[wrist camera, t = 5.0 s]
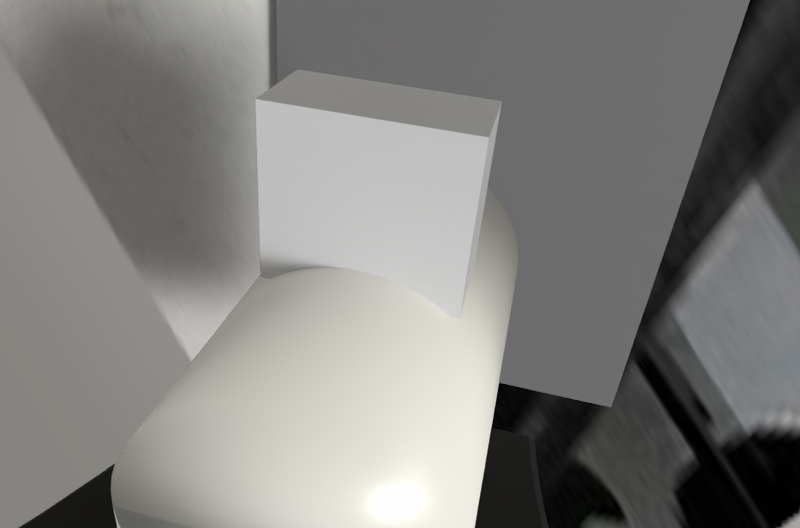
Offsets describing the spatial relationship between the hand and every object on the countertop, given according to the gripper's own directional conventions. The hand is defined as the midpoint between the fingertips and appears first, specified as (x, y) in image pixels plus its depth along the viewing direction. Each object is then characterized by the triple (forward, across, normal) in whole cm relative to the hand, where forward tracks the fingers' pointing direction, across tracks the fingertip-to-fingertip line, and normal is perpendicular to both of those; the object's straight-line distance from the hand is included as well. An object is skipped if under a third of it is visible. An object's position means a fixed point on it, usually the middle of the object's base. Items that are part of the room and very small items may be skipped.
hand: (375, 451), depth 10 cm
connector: (+1, 0, 0) cm, 1 cm away
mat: (+9, 0, 0) cm, 9 cm away
